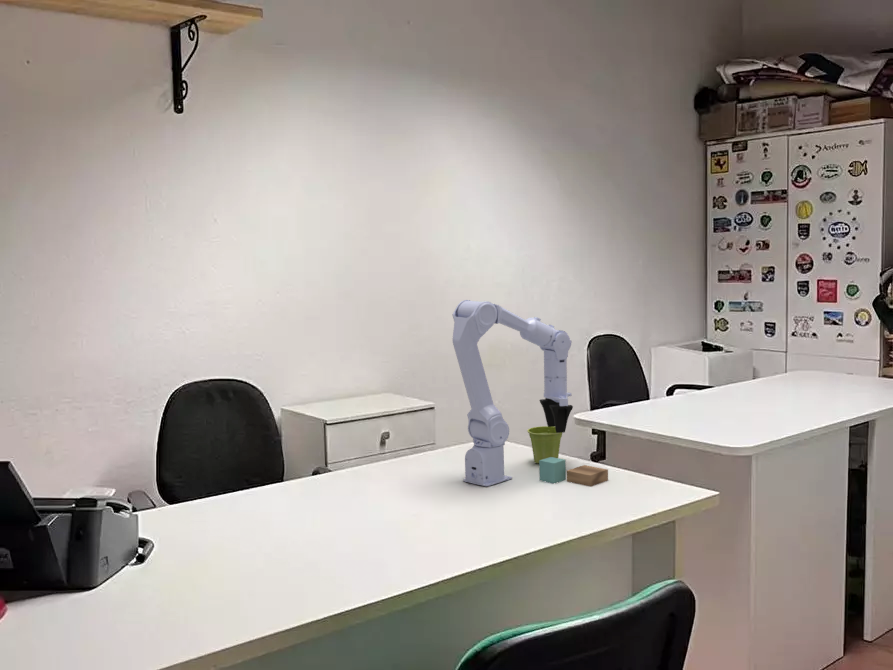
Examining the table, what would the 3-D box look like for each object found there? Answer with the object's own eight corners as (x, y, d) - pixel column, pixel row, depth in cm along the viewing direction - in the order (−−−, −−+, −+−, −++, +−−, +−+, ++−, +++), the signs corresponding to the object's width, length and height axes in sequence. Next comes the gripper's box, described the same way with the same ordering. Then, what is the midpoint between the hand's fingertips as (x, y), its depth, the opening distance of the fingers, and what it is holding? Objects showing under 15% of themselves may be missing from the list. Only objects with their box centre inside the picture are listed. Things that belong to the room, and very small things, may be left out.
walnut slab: (590, 487, 211) (590, 475, 210) (566, 482, 216) (566, 470, 215) (608, 481, 215) (607, 469, 215) (584, 476, 220) (584, 464, 220)
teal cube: (554, 483, 214) (553, 463, 214) (539, 480, 217) (539, 460, 217) (565, 479, 217) (565, 459, 217) (551, 476, 220) (550, 456, 220)
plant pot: (566, 466, 230) (565, 433, 229) (529, 467, 230) (528, 434, 229) (562, 457, 239) (561, 425, 238) (526, 458, 239) (526, 426, 238)
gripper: (579, 380, 221) (580, 434, 222) (562, 372, 235) (562, 423, 237) (551, 381, 220) (552, 435, 221) (536, 373, 234) (536, 424, 236)
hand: (556, 429), depth 229 cm, fingers open, 7 cm apart
